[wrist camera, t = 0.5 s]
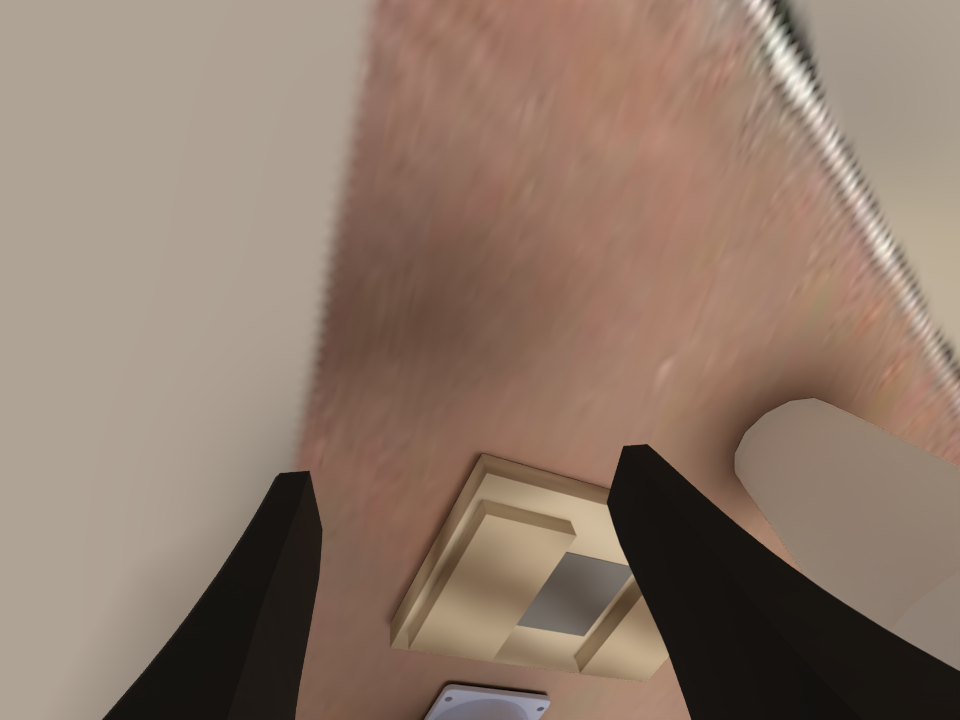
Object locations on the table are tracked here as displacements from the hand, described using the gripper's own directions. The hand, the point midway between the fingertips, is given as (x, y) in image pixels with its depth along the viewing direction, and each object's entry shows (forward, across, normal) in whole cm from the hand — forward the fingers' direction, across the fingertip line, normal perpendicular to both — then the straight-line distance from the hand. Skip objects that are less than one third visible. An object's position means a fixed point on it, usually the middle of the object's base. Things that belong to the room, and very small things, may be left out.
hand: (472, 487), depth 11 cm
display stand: (+8, -7, +18) cm, 21 cm away
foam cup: (+9, -19, +10) cm, 23 cm away
